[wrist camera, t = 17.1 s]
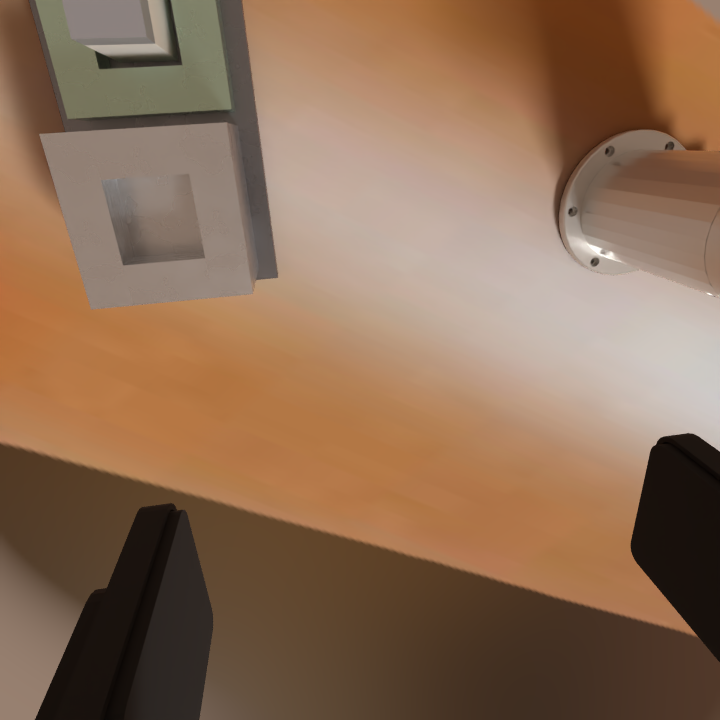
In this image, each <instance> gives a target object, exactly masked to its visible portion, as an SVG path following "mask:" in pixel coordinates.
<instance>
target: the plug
mask: <svg viewBox="0 0 720 720" xmlns="http://www.w3.org/2000/svg"><path fill="white" fill-rule="evenodd" d="M62 3H63V7H64V11H65V15H66V20H67V24H68V28H69V32H70V36H71V39H72V40H74V41H76V42H78V43H81V44H83V45H85V46H87V47H89V48H91V49H93V50H95V51H97V52H99V53H101V54H103V55H106V56H108V57H110V58H112V59H114V60H116V61H118V62H120V63H134V62H168V61H179V60H178V54H177V48H176V42H175V36H174V30H173V24H172V18H171V12H170V6H169V0H62Z"/></svg>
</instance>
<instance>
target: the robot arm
mask: <svg viewBox="0 0 720 720" xmlns="http://www.w3.org/2000/svg"><path fill="white" fill-rule="evenodd" d="M605 150H606V152H605ZM569 209H570V211H569ZM568 211H569V213H568ZM559 228H560V233H561V237H562V241H563V243H564V245H565V247H566V249H567V251H568V252H569V254H570V255H571V256H572V258H573V259H574V260H575V261H576V262H578V263H579V264H580V265H581V266H583V267H585V268H587V269H589V270H591V271H594V272H597V273H600V274H604V275H613V276H614V275H624V274H628V273H632V272H635V271H638V270H642V271H645V272H648V273H650V274H653V275H656V276H659V277H661V278H664V279H667V280H670V281H672V282H675V283H678V284H681V285H683V286H686V287H689V288H692V289H695V290H697V291H700V292H703V293H706V294H708V295H711V296H714V297H717V298H720V151H695V150H686V149H685V147H684V146H683V145H682V144H681V143H680V142H679V141H678V140H677V139H675V138H673V137H672V136H670V135H668V134H667V133H663V132H660V131H656V130H630V131H626V132H623V133H619V134H616V135H614V136H612V137H610V138H608V139H606V140H604V141H603V142H601V143H600V144H599V145H597V146H596V147H595V148H593V149H592V150H591V151H590V152H589V153H588V154H587V155H586V156H585V157H584V158H583V159H582V160H581V161H580V163H579V164H578V166H577V167H576V168H575V170H574V171H573V173H572V174H571V176H570V178H569V180H568V182H567V184H566V186H565V189H564V193H563V196H562V199H561V204H560V211H559ZM631 552H632V555H633V557H634V559H635V561H636V562H637V564H638V565H639V566H640V567H641V568H642V570H643V571H644V572H645V573H646V574H647V576H648V577H649V578H650V579H651V580H652V582H653V583H654V584H655V585H656V586H657V588H658V589H659V590H660V591H661V592H662V594H663V595H664V596H665V597H666V598H667V600H668V601H669V602H670V603H671V604H672V606H673V607H674V608H675V609H676V610H677V612H678V613H679V614H680V615H681V616H682V618H683V619H684V620H685V621H686V622H687V624H688V625H689V626H690V627H691V628H692V630H693V631H694V632H695V633H696V634H697V636H698V637H699V638H700V639H701V640H702V641H703V643H704V644H705V645H706V646H707V648H708V649H709V650H710V651H711V652H712V654H713V655H714V656H715V657H716V658H717V660H718V661H719V662H720V452H719V451H718V450H717V449H715V448H714V447H712V446H711V445H710V444H708V443H707V442H705V441H704V440H703V439H701V438H700V437H698V436H696V435H694V434H690V433H687V434H680V435H673V436H665V437H662V438H660V439H659V440H658V441H657V444H656V445H655V446H653V447H652V449H651V451H650V456H649V460H648V465H647V470H646V474H645V479H644V484H643V488H642V493H641V498H640V502H639V507H638V512H637V516H636V521H635V526H634V530H633V535H632V540H631ZM212 631H213V613H212V608H211V604H210V600H209V596H208V592H207V588H206V585H205V581H204V577H203V573H202V569H201V565H200V561H199V558H198V554H197V550H196V546H195V543H194V539H193V535H192V531H191V527H190V523H189V520H188V515H187V513H186V511H185V510H178V511H177V509H176V507H175V505H174V504H172V503H170V504H163V505H156V506H148V507H142V508H140V509H139V511H138V512H137V515H136V517H135V520H134V522H133V525H132V527H131V530H130V532H129V535H128V537H127V539H126V542H125V544H124V547H123V549H122V552H121V554H120V557H119V559H118V562H117V564H116V567H115V569H114V572H113V574H112V577H111V579H110V582H109V584H108V587H107V588H105V589H98V590H95V591H94V592H93V593H92V594H91V595H90V597H89V598H88V600H87V602H86V604H85V606H84V608H83V611H82V613H81V615H80V618H79V620H78V622H77V624H76V627H75V629H74V631H73V634H72V636H71V638H70V641H69V643H68V645H67V647H66V650H65V652H64V654H63V657H62V659H61V661H60V664H59V666H58V668H57V670H56V673H55V675H54V677H53V680H52V682H51V684H50V687H49V689H48V691H47V693H46V696H45V698H44V700H43V703H42V705H41V707H40V709H39V712H38V714H37V716H36V719H35V720H199V717H200V711H201V704H202V698H203V691H204V684H205V678H206V671H207V665H208V658H209V651H210V645H211V638H212Z"/></svg>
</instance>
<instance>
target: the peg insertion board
mask: <svg viewBox="0 0 720 720" xmlns="http://www.w3.org/2000/svg"><path fill="white" fill-rule="evenodd" d="M29 3H30V6H31V10H32V13H33V17H34V21H35V24H36V28H37V31H38V35H39V39H40V42H41V46H42V50H43V53H44V57H45V60H46V64H47V68H48V71H49V75H50V78H51V82H52V86H53V89H54V93H55V96H56V100H57V104H58V107H59V111H60V115H61V118H62V122H63V125H64V129H65V132H62V133H46V134H39V135H40V139H41V142H42V145H43V149H44V152H45V156H46V159H47V162H48V166H49V169H50V172H51V176H52V179H53V182H54V186H55V189H56V193H57V196H58V199H59V203H60V206H61V209H62V213H63V216H64V220H65V223H66V226H67V230H68V233H69V236H70V240H71V243H72V246H73V250H74V253H75V257H76V260H77V263H78V267H79V270H80V273H81V277H82V280H83V283H84V287H85V290H86V294H87V297H88V300H89V304H90V307H91V309H102V308H112V307H122V306H133V305H143V304H154V303H164V302H174V301H185V300H195V299H206V298H216V297H226V296H237V295H247V294H253V291H254V287H255V282H256V280H259V279H270V278H278V272H277V264H276V256H275V249H274V241H273V234H272V226H271V218H270V211H269V203H268V195H267V188H266V180H265V173H264V165H263V157H262V150H261V142H260V134H259V127H258V119H257V112H256V104H255V96H254V89H253V81H252V74H251V66H250V58H249V51H248V43H247V35H246V28H245V20H244V13H243V5H242V0H169V6H170V12H171V18H172V24H173V30H174V36H175V42H176V48H177V54H178V60H179V61H168V62H134V63H120V62H118V61H116V60H114V59H112V58H110V57H108V56H106V55H103V54H101V53H99V52H97V51H95V50H93V49H91V48H89V47H87V46H85V45H83V44H81V43H78V42H76V41H74V40H72V39H71V36H70V32H69V28H68V24H67V20H66V15H65V11H64V7H63V3H62V0H29Z"/></svg>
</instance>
